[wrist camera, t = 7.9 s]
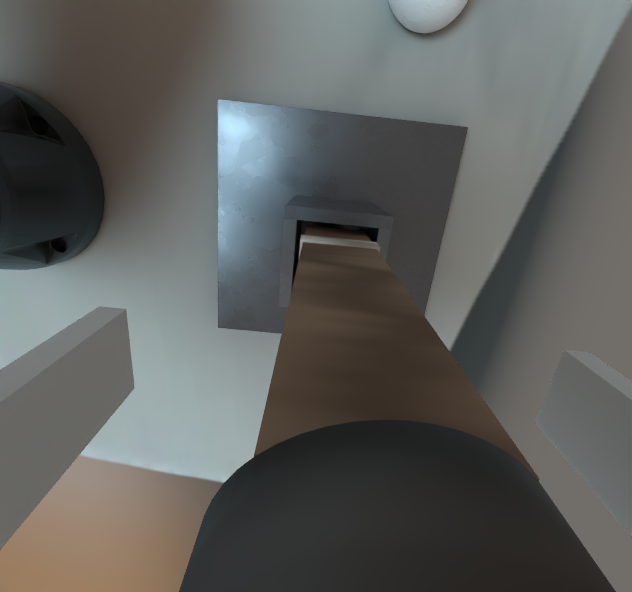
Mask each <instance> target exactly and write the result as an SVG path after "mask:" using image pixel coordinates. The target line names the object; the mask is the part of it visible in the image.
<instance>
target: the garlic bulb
mask: <svg viewBox="0 0 632 592" xmlns="http://www.w3.org/2000/svg"><path fill="white" fill-rule="evenodd" d="M388 1H389V5H390V7H391V9H392V12H393V14H394V15H395V17H396V18H397V20H398V21H399V22H400V23H401V24H402V25H403V26H404V27H406V28H407V29H409V30H411V31H413V32H417V33H431V32H435V31H437V30H440V29H442V28H443V27H445V26H447V25H448V24H449V23H450V22H452V21H453V20H454V19H455V18H456V17H457V16H458V15H459V13H460V12H461V11H462V10H463V8H464V7H465V5H466V3H467V2H468V0H388Z"/></svg>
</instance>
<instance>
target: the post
mask: <svg viewBox="0 0 632 592" xmlns="http://www.w3.org/2000/svg"><path fill="white" fill-rule="evenodd" d="M379 252H380V246H379V245H378V243H377V242H372V241H371V240H370V239H369V237H368V236H367V234H366V233H365V232H364V231H357V230H347V229H338V228H328V227H318V226H309V225H307V226H306V231H305V235H301V238H300V249H299V261H298V266H297V270H296V274H295V279H294V283H293V288H292V292H291V296H290V301H289V305H288V309H287V314H286V318H285V323H284V327H283V331H282V336H281V340H280V344H279V349H278V353H277V358H276V362H275V366H274V371H273V375H272V379H271V384H270V388H269V393H268V397H267V401H266V406H265V410H264V414H263V419H262V423H261V428H260V432H259V436H258V441H257V445H256V449H255V454H254V457H253V458H252V459H251V460H249V461H248V462H247V463H245V464H244V465H243V466H241V467H240V468H239V469H238V470H237V471H236V472H235V473H234V474H233V475H232V476H231V477H230V478H229V479H228V480H227V481H226V482H225V483H224V484H223V485H222V486H221V488H220V489H219V491H218V492H217V493H216V495H215V496H214V498H213V499H212V501H211V503H210V505H209V507H208V509H207V511H206V513H205V515H204V518H203V521H202V524H201V527H200V530H199V533H198V536H197V539H196V542H195V545H194V548H193V552H192V554H191V557H190V560H189V563H188V566H187V569H186V572H185V575H184V578H183V582H182V584H181V587H180V590H179V592H616V591H615V590H614V589H613V587H612V586H611V584H610V583H609V582H608V580H607V579H606V577H605V576H604V575H603V573H602V571H601V570H600V569H599V567H598V566H597V564H596V563H595V561H594V560H593V559H592V557H591V556H590V554H589V553H588V552H587V550H586V548H585V547H584V546H583V544H582V543H581V541H580V540H579V538H578V537H577V536H576V534H575V533H574V531H573V530H572V528H571V527H570V526H569V524H568V523H567V521H566V520H565V518H564V517H563V516H562V514H561V513H560V511H559V510H558V508H557V507H556V506H555V504H554V503H553V501H552V500H551V498H550V497H549V495H548V494H547V493H546V491H545V490H544V489H543V487H542V485H541V484H540V483H539V478H538V476H537V475H536V473H535V472H534V471H533V469H532V468H531V467H530V465H529V463H528V462H527V461H526V459H525V458H524V456H523V455H522V454H521V452H520V451H519V449H518V448H517V447H516V445H515V444H514V442H513V441H512V439H511V438H510V437H509V435H508V434H507V432H506V431H505V430H504V428H503V427H502V425H501V424H500V423H499V421H498V420H497V418H496V417H495V415H494V414H493V413H492V411H491V410H490V408H489V407H488V405H487V404H486V403H485V401H484V400H483V398H482V397H481V396H480V394H479V393H478V391H477V390H476V389H475V387H474V386H473V384H472V383H471V381H470V380H469V379H468V377H467V376H466V375H465V373H464V372H463V370H462V369H461V367H460V366H459V364H458V363H457V362H456V360H455V359H454V358H453V356H452V355H451V353H450V352H449V350H448V349H447V347H446V346H445V345H444V343H443V342H442V340H441V339H440V338H439V336H438V335H437V333H436V332H435V331H434V329H433V328H432V326H431V325H430V323H429V322H428V321H427V319H426V318H425V316H424V315H423V314H422V312H421V311H420V309H419V308H418V306H417V305H416V304H415V302H414V301H413V299H412V298H411V297H410V295H409V294H408V292H407V291H406V290H405V288H404V287H403V285H402V284H401V282H400V281H399V280H398V278H397V277H396V275H395V274H394V273H393V271H392V270H391V268H390V267H389V265H388V264H387V263H386V261H385V260H384V258H383V257H382V256H381V254H380V253H379Z"/></svg>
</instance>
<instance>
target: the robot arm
mask: <svg viewBox="0 0 632 592" xmlns="http://www.w3.org/2000/svg"><path fill="white" fill-rule="evenodd" d="M103 210H104V191H103V184H102V179H101V175H100V172H99V169H98V166H97V163H96V161H95V159H94V156H93V154H92V152H91V150H90V149H89V147H88V145H87V143H86V142H85V140H84V139H83V137H82V136H81V135H80V133H79V132H78V131H77V129H76V128H75V127H74V126H73V125H72V124H71V122H70V121H69V120H68V119H67V118H66V117H65V116H64V115H62V114H61V113H60V112H59V111H58V110H57V109H55V108H54V107H53V106H52V105H50V104H49V103H47V102H46V101H44V100H43V99H41V98H40V97H38V96H36V95H34V94H32V93H30V92H28V91H26V90H23V89H21V88H18V87H15V86H11V85H7V84H4V83H0V269H14V270H28V269H37V268H43V267H47V266H50V265H53V264H56V263H58V262H61V261H64V260H67V259H69V258H71V257H73V256H75V255H77V254H78V253H80V252H81V251H82V250H83V249H85V248H86V247H87V246H88V245H89V243H90V242H91V241H92V239H93V238H94V236H95V235H96V233H97V231H98V229H99V226H100V223H101V220H102V216H103ZM133 389H134V379H133V369H132V360H131V351H130V341H129V332H128V323H127V314H126V309H120V308H109V307H98V308H96V309H95V310H93V311H92V312H90V313H89V314H87V315H85V316H84V317H82V318H81V319H79V320H78V321H76V322H74V323H73V324H71V325H70V326H68V327H67V328H65V329H64V330H62V331H60V332H59V333H57V334H56V335H54V336H53V337H51V338H49V339H48V340H46V341H45V342H43V343H42V344H40V345H39V346H37V347H35V348H34V349H32V350H31V351H29V352H28V353H26V354H24V355H23V356H21V357H20V358H18V359H17V360H15V361H14V362H12V363H10V364H9V365H7V366H6V367H4V368H3V369H1V370H0V550H1V548H2V547H3V546H4V545H5V544H6V542H7V541H8V540H9V539H10V538H11V536H12V535H13V534H14V533H15V531H16V530H17V529H18V528H19V526H21V524H22V523H23V522H24V521H25V520H26V518H27V517H28V516H29V515H30V513H31V512H32V511H33V510H34V508H35V507H36V506H37V505H38V504H39V503H40V501H41V500H42V499H43V497H45V495H46V494H47V493H48V492H49V491H50V489H51V488H52V487H53V486H54V485H55V483H56V482H57V481H58V480H59V479H60V477H61V476H62V475H63V474H64V472H65V471H66V470H67V469H68V468H69V466H70V465H71V464H72V463H73V462H74V460H75V459H76V458H77V457H78V456H79V454H80V453H81V452H82V451H83V450H84V448H85V447H86V446H87V445H88V444H89V442H90V441H91V440H92V439H93V438H94V436H95V435H96V434H97V433H98V431H99V430H100V429H101V428H102V427H103V425H104V424H105V423H106V422H107V421H108V419H109V418H110V417H111V416H112V415H113V413H114V412H115V411H116V410H117V409H118V407H119V406H120V405H121V404H122V403H123V401H124V400H125V399H126V398H127V396H128V395H129V394H130V393H131V392H132V390H133ZM535 424H536V425H537V426H538V427H539V428H540V429H541V431H542V432H543V433H544V434H545V435H546V437H547V438H548V439H549V440H550V441H551V442H552V444H553V445H554V446H555V447H556V448H557V449H558V451H559V452H560V453H561V454H562V456H563V457H564V458H565V459H566V460H567V461H568V462H569V464H570V465H571V466H572V467H573V468H574V470H575V471H576V472H577V473H578V474H579V475H580V477H581V478H582V479H583V480H584V481H585V483H586V484H587V485H588V486H589V487H590V489H591V490H592V491H593V492H594V493H595V494H596V496H597V497H598V498H599V499H600V500H601V502H602V503H603V504H604V505H605V506H606V507H607V508H608V510H609V511H610V512H611V513H612V514H613V516H614V517H615V518H616V519H617V520H618V522H619V523H620V524H621V525H622V526H623V528H624V529H625V530H626V531H627V532H628V533H629V535H630V536H631V537H632V381H630V380H629V379H627V378H626V377H624V376H623V375H621V374H620V373H619V372H617V371H616V370H614V369H613V368H611V367H610V366H608V365H607V364H605V363H604V362H602V361H601V360H600V359H598V358H597V357H595V356H594V355H592V354H591V353H589V352H581V351H570V350H564V352H563V355H562V357H561V360H560V362H559V365H558V367H557V369H556V372H555V374H554V377H553V379H552V381H551V384H550V386H549V389H548V391H547V394H546V396H545V398H544V401H543V403H542V406H541V408H540V411H539V413H538V415H537V418H536V420H535Z"/></svg>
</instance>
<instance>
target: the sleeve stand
mask: <svg viewBox="0 0 632 592" xmlns="http://www.w3.org/2000/svg"><path fill="white" fill-rule="evenodd" d="M467 128H468V127H461V126H452V125H443V124H434V123H425V122H416V121H407V120H398V119H390V118H381V117H372V116H363V115H354V114H345V113H336V112H327V111H318V110H309V109H300V108H291V107H282V106H273V105H265V104H256V103H247V102H238V101H229V100H220V99H218V328H229V329H239V330H250V331H261V332H271V333H282V331H283V327H284V323H285V318H286V314H287V309H288V305H289V301H290V296H291V292H292V288H293V283H294V279H295V274H296V270H297V266H298V261H299V249H300V238H301V235H305V231H306V226H307V225H309V226H318V227H328V228H338V229H347V230H357V231H364V232H365V233H366V234H367V236H368V237H369V239H370V240H371V241H372V242H377V243H378V245H379V246H380V252H379V253H380V254H381V256H382V257H383V258H384V260H385V261H386V263H387V264H388V265H389V267H390V268H391V270H392V271H393V273H394V274H395V275H396V277H397V278H398V280H399V281H400V282H401V284H402V285H403V287H404V288H405V290H406V291H407V292H408V294H409V295H410V297H411V298H412V299H413V301H414V302H415V304H416V305H417V306H418V308H419V309H420V311H421V312H422V314H423V315H424V313H425V309H426V304H427V300H428V296H429V292H430V287H431V283H432V279H433V274H434V270H435V266H436V261H437V257H438V253H439V249H440V244H441V240H442V236H443V231H444V227H445V223H446V218H447V214H448V210H449V206H450V201H451V197H452V193H453V188H454V184H455V180H456V176H457V171H458V167H459V163H460V158H461V154H462V150H463V145H464V141H465V137H466V133H467Z"/></svg>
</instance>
